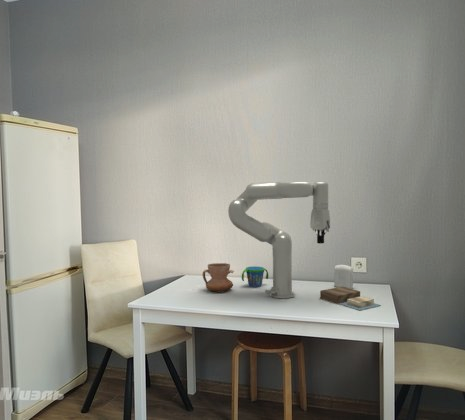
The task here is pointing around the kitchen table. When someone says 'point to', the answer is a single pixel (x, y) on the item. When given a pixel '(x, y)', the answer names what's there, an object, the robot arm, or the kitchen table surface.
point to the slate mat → (360, 307)
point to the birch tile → (360, 301)
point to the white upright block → (343, 276)
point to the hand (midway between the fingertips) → (320, 243)
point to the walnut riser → (338, 294)
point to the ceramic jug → (218, 277)
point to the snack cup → (254, 275)
